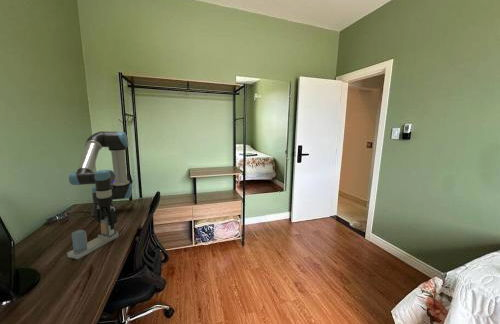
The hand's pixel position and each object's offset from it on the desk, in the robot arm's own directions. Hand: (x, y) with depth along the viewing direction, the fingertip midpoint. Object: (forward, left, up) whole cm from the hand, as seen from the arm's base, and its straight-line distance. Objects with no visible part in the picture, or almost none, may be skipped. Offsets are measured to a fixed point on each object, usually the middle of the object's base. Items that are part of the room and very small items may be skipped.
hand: (107, 233), depth 124 cm
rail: (+8, 0, -3) cm, 9 cm away
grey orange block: (0, 0, -1) cm, 1 cm away
